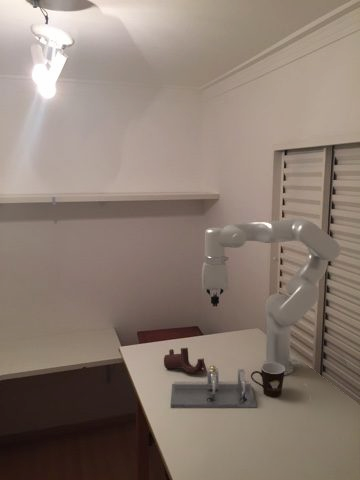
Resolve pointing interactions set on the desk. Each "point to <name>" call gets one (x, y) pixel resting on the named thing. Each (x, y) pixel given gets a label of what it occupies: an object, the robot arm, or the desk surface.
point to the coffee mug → (271, 378)
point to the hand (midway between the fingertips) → (214, 305)
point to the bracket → (183, 361)
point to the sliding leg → (212, 379)
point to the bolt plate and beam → (203, 397)
